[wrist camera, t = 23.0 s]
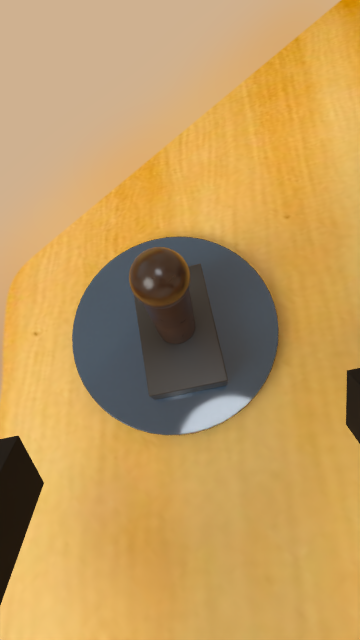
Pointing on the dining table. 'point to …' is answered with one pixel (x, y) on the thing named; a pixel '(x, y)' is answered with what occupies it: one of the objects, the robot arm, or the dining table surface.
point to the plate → (126, 351)
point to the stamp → (175, 325)
